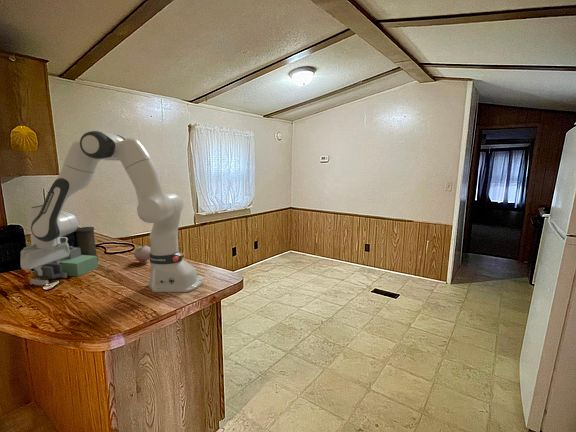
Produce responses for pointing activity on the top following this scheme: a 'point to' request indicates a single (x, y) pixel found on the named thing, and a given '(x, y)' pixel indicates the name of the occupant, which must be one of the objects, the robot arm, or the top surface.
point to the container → (86, 241)
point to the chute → (49, 271)
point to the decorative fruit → (142, 253)
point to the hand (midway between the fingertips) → (48, 272)
